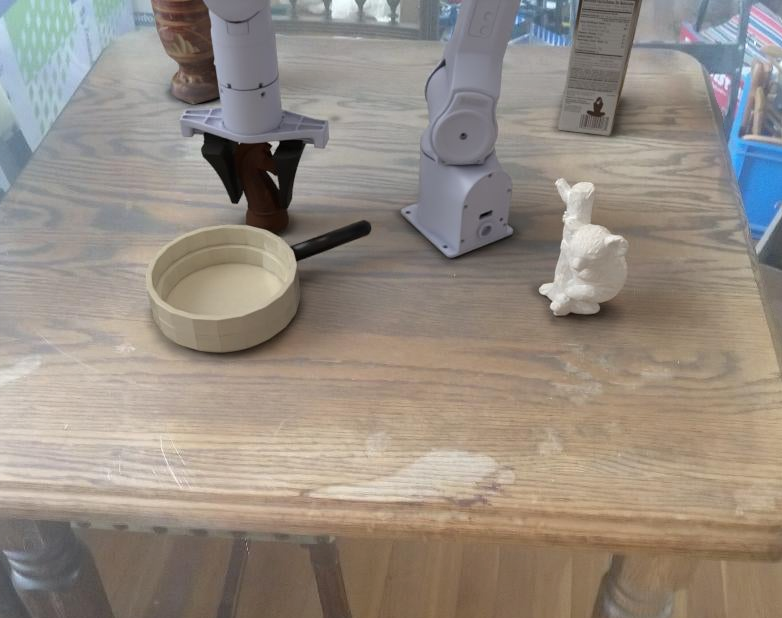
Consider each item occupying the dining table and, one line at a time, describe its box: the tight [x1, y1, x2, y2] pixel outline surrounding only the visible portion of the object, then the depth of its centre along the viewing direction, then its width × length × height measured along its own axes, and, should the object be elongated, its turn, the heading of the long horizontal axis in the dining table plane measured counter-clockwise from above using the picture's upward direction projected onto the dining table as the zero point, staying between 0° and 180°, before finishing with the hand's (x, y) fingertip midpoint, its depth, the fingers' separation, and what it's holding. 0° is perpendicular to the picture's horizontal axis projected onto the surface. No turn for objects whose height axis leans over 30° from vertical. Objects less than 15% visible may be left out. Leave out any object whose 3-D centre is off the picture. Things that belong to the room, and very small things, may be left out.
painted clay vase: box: [150, 0, 220, 105], centre depth 106 cm, size 12×9×20 cm
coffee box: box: [557, 0, 643, 137], centre depth 98 cm, size 9×6×16 cm
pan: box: [144, 223, 301, 354], centre depth 82 cm, size 14×14×4 cm
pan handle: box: [289, 219, 373, 263], centre depth 84 cm, size 10×2×2 cm, turn 118°
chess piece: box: [234, 142, 290, 236], centre depth 88 cm, size 5×5×10 cm
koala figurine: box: [538, 177, 629, 317], centre depth 77 cm, size 8×7×12 cm
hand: (262, 201), depth 90 cm, fingers closed on chess piece, 5 cm apart
